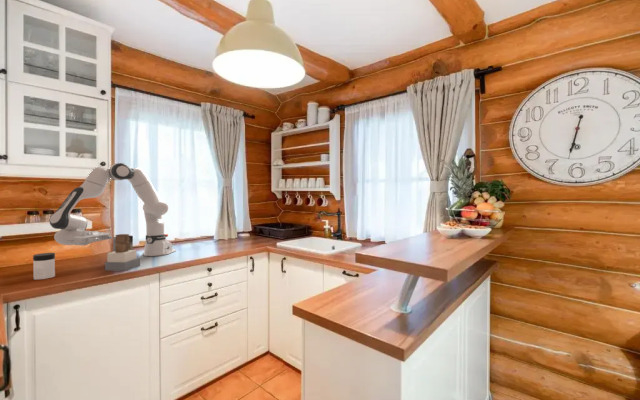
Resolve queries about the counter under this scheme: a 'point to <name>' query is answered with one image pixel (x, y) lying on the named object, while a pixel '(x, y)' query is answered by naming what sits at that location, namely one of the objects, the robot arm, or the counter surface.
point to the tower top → (121, 256)
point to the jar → (44, 265)
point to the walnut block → (122, 243)
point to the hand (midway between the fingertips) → (103, 238)
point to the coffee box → (129, 243)
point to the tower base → (122, 265)
